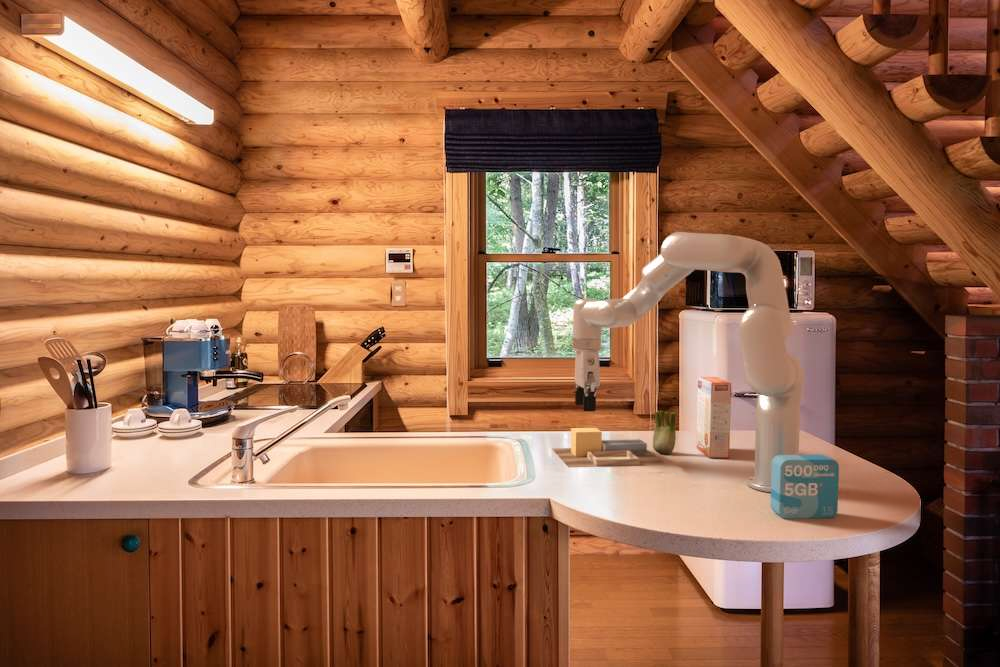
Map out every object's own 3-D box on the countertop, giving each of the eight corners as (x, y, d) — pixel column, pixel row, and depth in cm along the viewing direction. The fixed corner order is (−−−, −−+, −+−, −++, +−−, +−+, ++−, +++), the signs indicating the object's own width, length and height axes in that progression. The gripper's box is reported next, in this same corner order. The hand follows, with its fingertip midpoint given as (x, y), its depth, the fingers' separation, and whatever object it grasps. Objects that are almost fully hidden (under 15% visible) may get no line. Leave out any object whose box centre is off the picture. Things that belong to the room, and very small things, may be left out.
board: (668, 469, 188) (668, 452, 187) (568, 471, 185) (568, 455, 184) (641, 450, 210) (641, 435, 209) (551, 452, 206) (551, 437, 206)
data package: (779, 519, 147) (780, 459, 147) (769, 512, 152) (771, 454, 151) (837, 518, 148) (839, 459, 147) (826, 511, 152) (828, 454, 152)
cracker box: (730, 458, 200) (732, 382, 199) (708, 458, 200) (710, 382, 199) (716, 447, 214) (718, 376, 213) (695, 447, 214) (697, 376, 213)
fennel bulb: (677, 454, 205) (678, 411, 204) (664, 456, 202) (665, 413, 202) (661, 450, 210) (662, 408, 209) (649, 452, 207) (650, 410, 206)
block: (601, 455, 197) (601, 431, 197) (575, 456, 196) (576, 432, 196) (595, 451, 203) (596, 427, 203) (570, 451, 202) (571, 428, 202)
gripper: (608, 348, 190) (606, 413, 191) (592, 342, 207) (590, 402, 208) (580, 347, 189) (578, 413, 190) (566, 342, 206) (564, 402, 207)
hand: (584, 407), depth 199 cm, fingers open, 9 cm apart
